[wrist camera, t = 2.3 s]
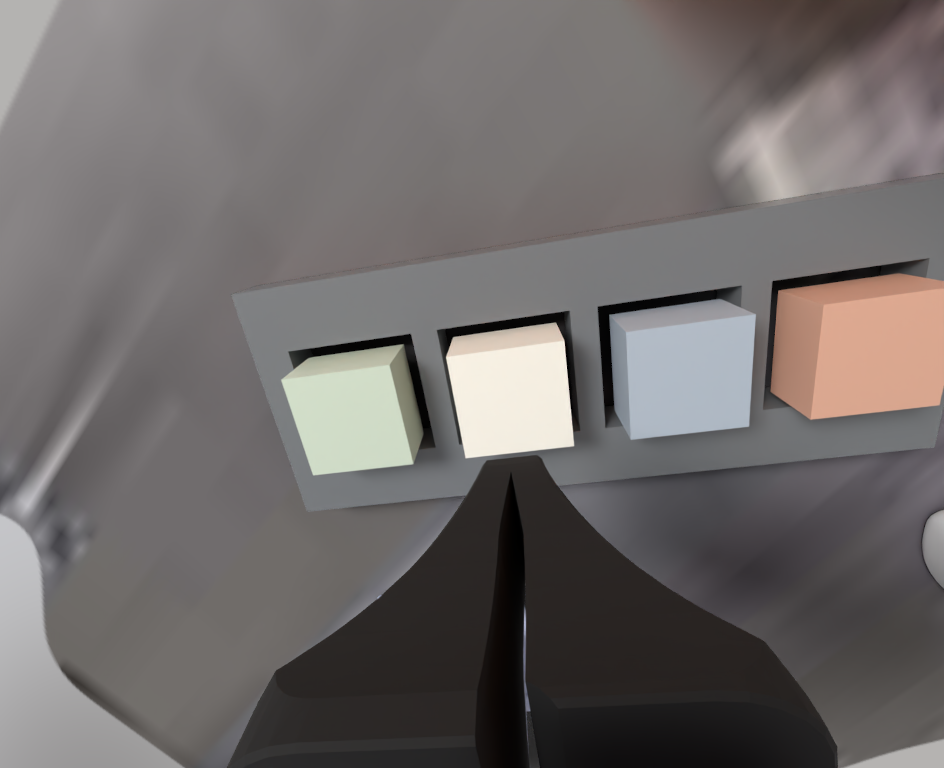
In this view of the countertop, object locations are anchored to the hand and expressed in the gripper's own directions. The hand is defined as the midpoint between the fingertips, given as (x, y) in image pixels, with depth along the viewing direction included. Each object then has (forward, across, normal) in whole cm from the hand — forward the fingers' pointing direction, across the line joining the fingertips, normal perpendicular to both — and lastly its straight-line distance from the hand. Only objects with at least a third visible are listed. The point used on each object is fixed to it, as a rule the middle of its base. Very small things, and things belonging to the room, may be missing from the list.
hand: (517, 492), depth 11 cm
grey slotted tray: (+9, -3, 0) cm, 10 cm away
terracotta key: (+8, -12, 0) cm, 14 cm away
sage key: (+8, +6, 0) cm, 10 cm away
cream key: (+8, 0, 0) cm, 8 cm away
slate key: (+8, -6, 0) cm, 10 cm away
